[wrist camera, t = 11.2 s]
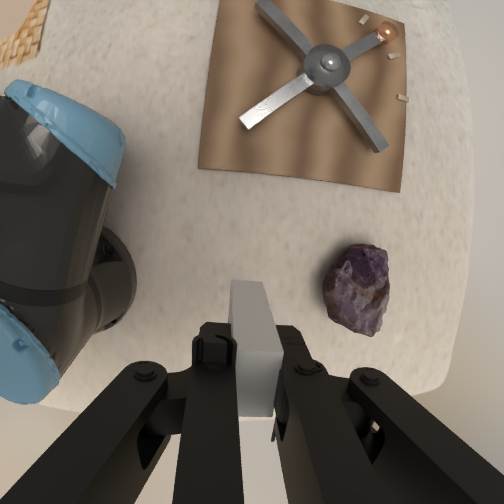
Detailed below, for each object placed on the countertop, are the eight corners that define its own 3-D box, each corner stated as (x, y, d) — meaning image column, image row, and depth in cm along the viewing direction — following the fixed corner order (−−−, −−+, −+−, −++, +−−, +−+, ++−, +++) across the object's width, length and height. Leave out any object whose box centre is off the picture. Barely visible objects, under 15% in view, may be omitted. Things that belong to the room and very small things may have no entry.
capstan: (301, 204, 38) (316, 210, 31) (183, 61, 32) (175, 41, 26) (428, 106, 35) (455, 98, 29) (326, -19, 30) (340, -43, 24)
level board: (199, 168, 37) (197, 167, 35) (223, -10, 31) (222, -18, 29) (394, 192, 40) (402, 193, 37) (399, 27, 34) (406, 21, 32)
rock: (374, 241, 42) (307, 246, 42) (406, 244, 34) (328, 251, 33) (375, 321, 43) (311, 331, 43) (404, 339, 35) (330, 354, 34)
